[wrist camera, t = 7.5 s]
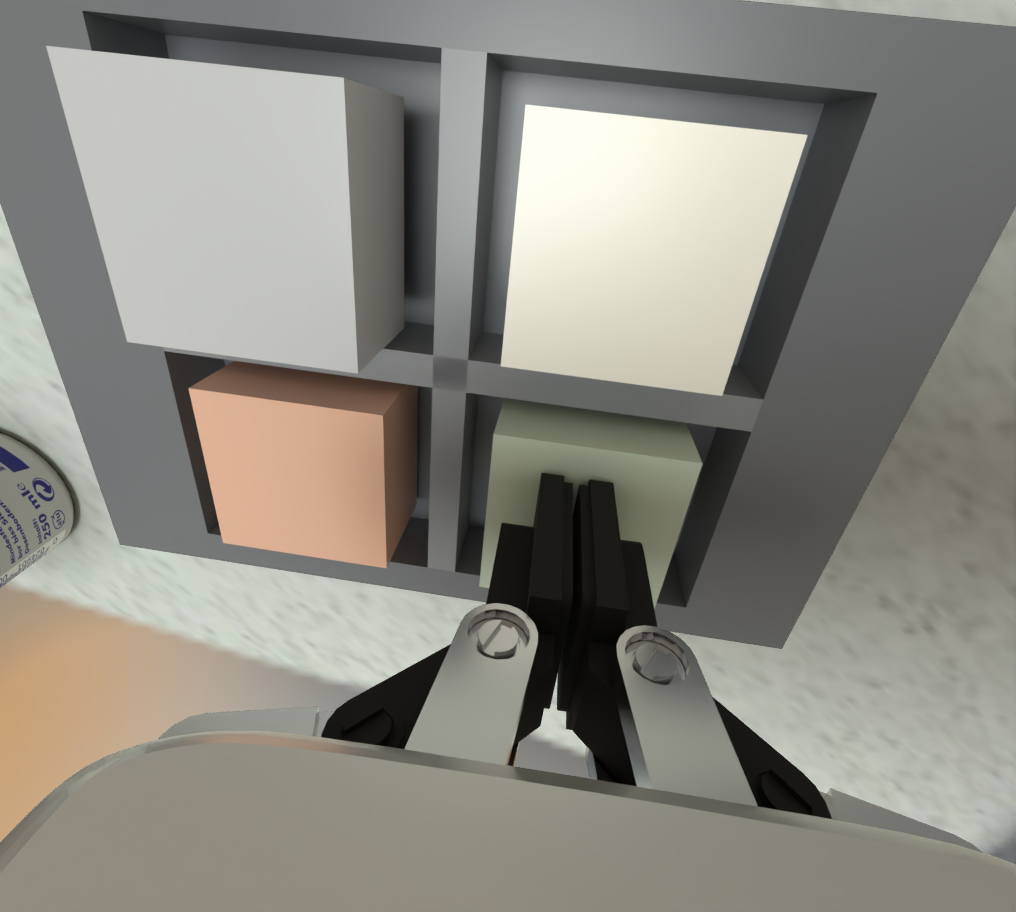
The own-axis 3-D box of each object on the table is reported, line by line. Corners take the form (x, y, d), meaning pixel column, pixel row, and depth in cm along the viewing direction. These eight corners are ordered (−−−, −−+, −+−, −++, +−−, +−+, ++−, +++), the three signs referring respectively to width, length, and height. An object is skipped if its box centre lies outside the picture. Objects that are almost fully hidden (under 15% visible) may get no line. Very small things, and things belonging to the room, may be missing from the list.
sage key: (679, 405, 14) (702, 463, 11) (640, 540, 16) (652, 613, 13) (509, 382, 14) (493, 433, 11) (494, 517, 16) (479, 586, 14)
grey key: (403, 97, 10) (343, 77, 8) (404, 328, 12) (358, 373, 10) (178, 73, 10) (46, 46, 8) (220, 303, 13) (126, 341, 10)
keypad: (978, 64, 11) (1105, 36, 8) (752, 577, 18) (781, 649, 15) (50, -29, 12) (-99, -80, 9) (183, 490, 19) (120, 544, 16)
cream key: (753, 139, 11) (807, 134, 8) (693, 348, 13) (722, 396, 11) (537, 116, 11) (525, 104, 9) (515, 325, 13) (500, 366, 11)
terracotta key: (418, 368, 14) (382, 415, 12) (416, 503, 17) (386, 568, 14) (258, 346, 15) (188, 388, 12) (277, 483, 17) (222, 543, 14)
